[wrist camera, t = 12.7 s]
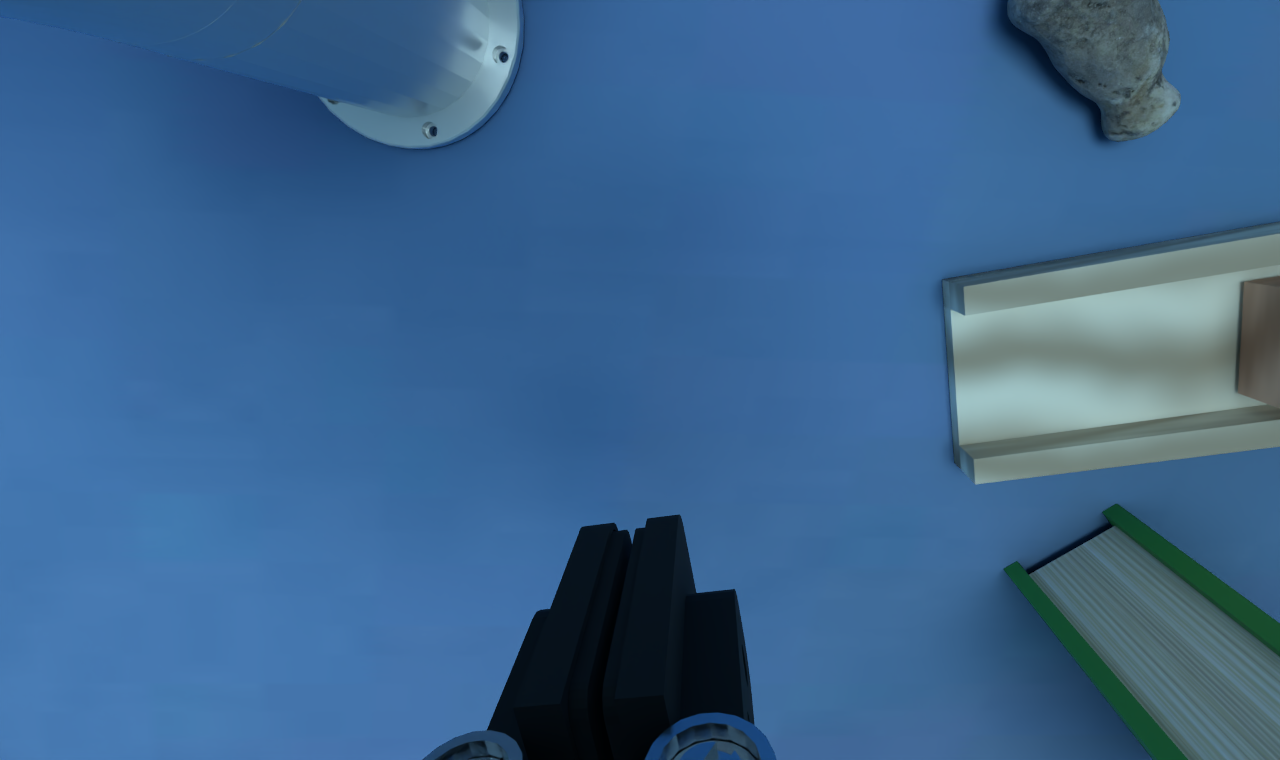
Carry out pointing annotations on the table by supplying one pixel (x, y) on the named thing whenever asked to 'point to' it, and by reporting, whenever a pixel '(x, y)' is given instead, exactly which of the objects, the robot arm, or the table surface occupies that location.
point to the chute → (1106, 358)
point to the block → (1261, 341)
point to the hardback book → (1164, 643)
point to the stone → (1107, 57)
